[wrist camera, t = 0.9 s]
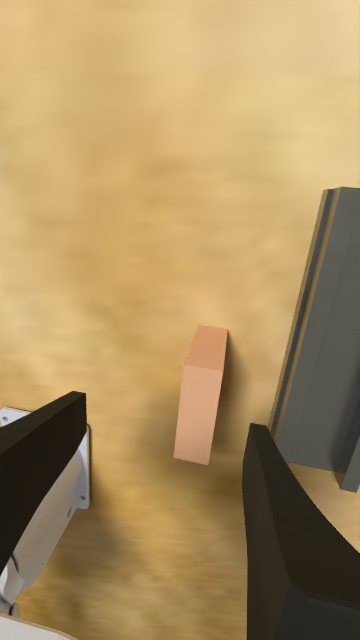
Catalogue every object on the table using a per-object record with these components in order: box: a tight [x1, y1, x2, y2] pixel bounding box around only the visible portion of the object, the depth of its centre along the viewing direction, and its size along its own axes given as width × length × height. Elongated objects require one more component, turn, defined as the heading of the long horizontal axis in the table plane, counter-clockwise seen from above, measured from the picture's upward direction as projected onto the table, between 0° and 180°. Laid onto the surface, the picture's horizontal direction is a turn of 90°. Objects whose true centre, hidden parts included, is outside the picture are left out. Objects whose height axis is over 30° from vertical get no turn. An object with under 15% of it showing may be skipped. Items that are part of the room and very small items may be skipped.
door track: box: [268, 187, 360, 493], centre depth 18 cm, size 18×6×2 cm, turn 175°
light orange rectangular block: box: [173, 325, 228, 465], centre depth 19 cm, size 6×2×6 cm, turn 175°
